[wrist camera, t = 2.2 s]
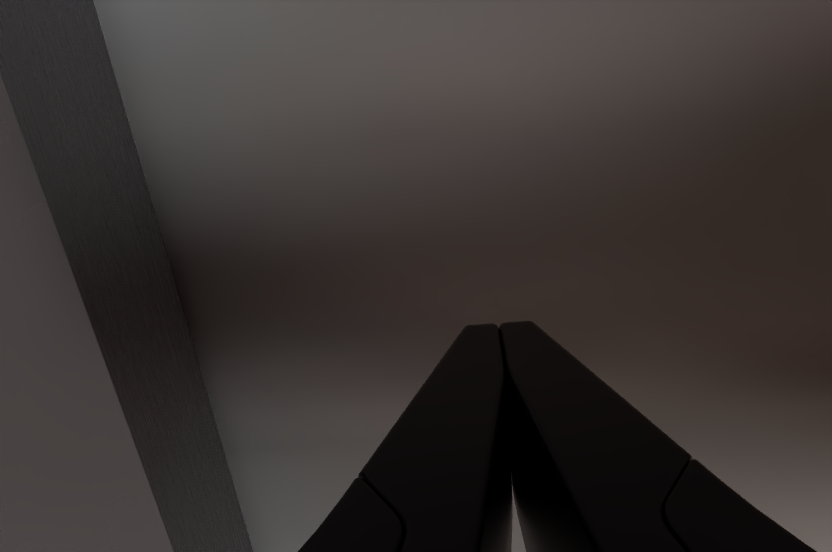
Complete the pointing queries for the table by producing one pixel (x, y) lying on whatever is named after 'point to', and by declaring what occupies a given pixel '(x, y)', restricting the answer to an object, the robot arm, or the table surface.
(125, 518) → the link
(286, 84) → the table surface
